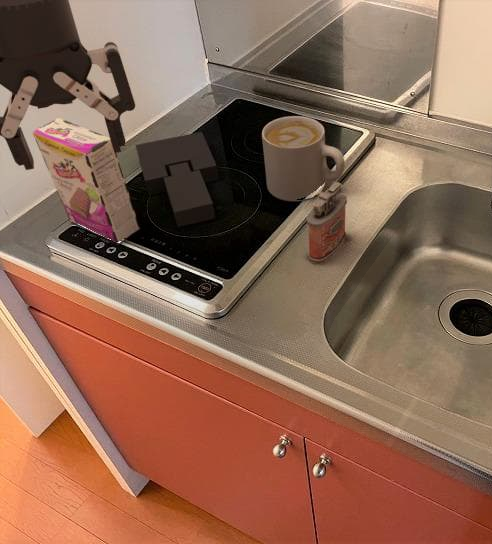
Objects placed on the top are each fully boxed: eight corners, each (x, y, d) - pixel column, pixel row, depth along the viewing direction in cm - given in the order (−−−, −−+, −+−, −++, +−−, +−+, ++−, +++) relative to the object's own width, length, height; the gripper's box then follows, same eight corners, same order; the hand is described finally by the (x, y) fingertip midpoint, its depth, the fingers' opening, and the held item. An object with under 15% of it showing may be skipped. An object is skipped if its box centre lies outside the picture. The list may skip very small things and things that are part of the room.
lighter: (322, 267, 82) (321, 212, 75) (303, 259, 83) (300, 204, 76) (351, 236, 87) (352, 182, 80) (332, 229, 88) (332, 175, 81)
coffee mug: (255, 189, 96) (249, 137, 89) (289, 161, 102) (285, 110, 95) (322, 215, 91) (321, 161, 84) (353, 184, 97) (355, 131, 90)
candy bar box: (68, 223, 90) (29, 131, 79) (92, 207, 93) (58, 115, 82) (118, 247, 86) (84, 153, 75) (141, 229, 89) (113, 136, 78)
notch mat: (148, 195, 96) (144, 180, 93) (139, 159, 104) (135, 144, 102) (219, 180, 98) (216, 165, 96) (204, 146, 107) (201, 131, 105)
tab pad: (178, 227, 89) (174, 212, 87) (164, 182, 98) (160, 167, 96) (215, 218, 91) (212, 203, 89) (198, 174, 100) (195, 160, 98)
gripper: (100, -34, 52) (139, 128, 63) (-74, -15, 48) (0, 153, 59) (108, -10, 47) (150, 162, 58) (-86, 13, 43) (-2, 191, 54)
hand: (74, 157), depth 59 cm, fingers open, 8 cm apart
